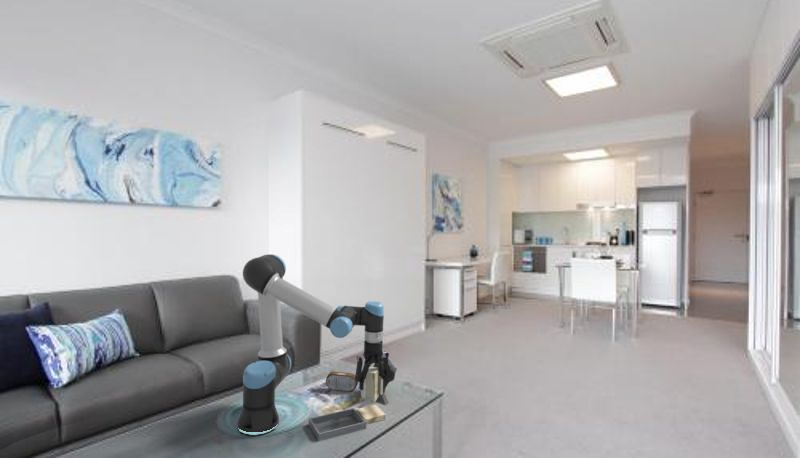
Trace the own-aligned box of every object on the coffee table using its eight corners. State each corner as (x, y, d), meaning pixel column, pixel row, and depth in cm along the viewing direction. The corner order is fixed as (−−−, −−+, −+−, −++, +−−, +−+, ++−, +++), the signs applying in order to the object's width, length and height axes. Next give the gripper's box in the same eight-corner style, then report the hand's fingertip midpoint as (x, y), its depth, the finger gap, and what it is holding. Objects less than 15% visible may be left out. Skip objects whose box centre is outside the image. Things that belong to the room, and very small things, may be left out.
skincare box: (374, 403, 164) (375, 373, 163) (364, 401, 165) (365, 372, 164) (379, 395, 170) (379, 367, 169) (369, 394, 171) (370, 366, 170)
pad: (365, 424, 162) (365, 419, 162) (356, 413, 169) (356, 409, 169) (385, 419, 166) (385, 414, 166) (375, 409, 174) (375, 404, 174)
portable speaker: (358, 390, 191) (358, 372, 190) (356, 393, 188) (357, 375, 187) (326, 387, 192) (327, 370, 192) (324, 390, 189) (325, 372, 189)
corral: (318, 440, 149) (318, 434, 149) (308, 424, 160) (308, 418, 160) (366, 428, 159) (366, 422, 159) (353, 413, 170) (353, 407, 169)
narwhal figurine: (403, 392, 191) (405, 354, 190) (385, 405, 178) (387, 364, 177) (378, 383, 198) (379, 347, 197) (359, 395, 185) (360, 357, 184)
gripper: (354, 346, 158) (352, 404, 159) (399, 339, 168) (397, 393, 169) (347, 340, 164) (345, 396, 165) (390, 334, 174) (388, 386, 176)
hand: (371, 394), depth 167 cm, fingers closed on skincare box, 7 cm apart
